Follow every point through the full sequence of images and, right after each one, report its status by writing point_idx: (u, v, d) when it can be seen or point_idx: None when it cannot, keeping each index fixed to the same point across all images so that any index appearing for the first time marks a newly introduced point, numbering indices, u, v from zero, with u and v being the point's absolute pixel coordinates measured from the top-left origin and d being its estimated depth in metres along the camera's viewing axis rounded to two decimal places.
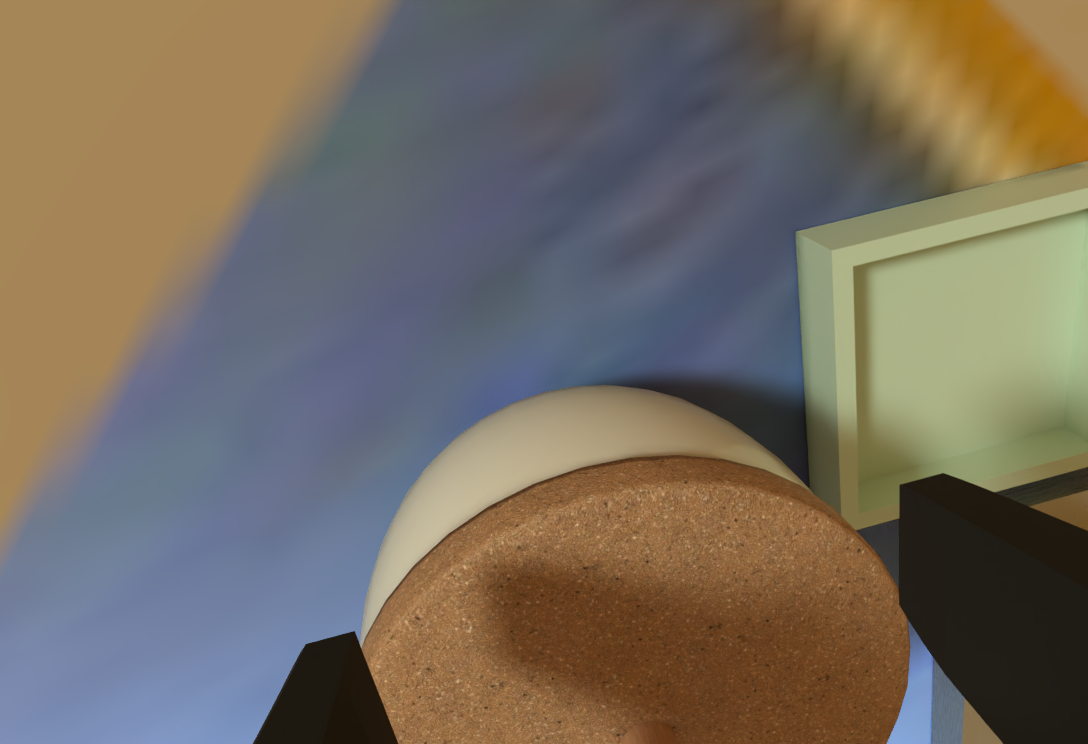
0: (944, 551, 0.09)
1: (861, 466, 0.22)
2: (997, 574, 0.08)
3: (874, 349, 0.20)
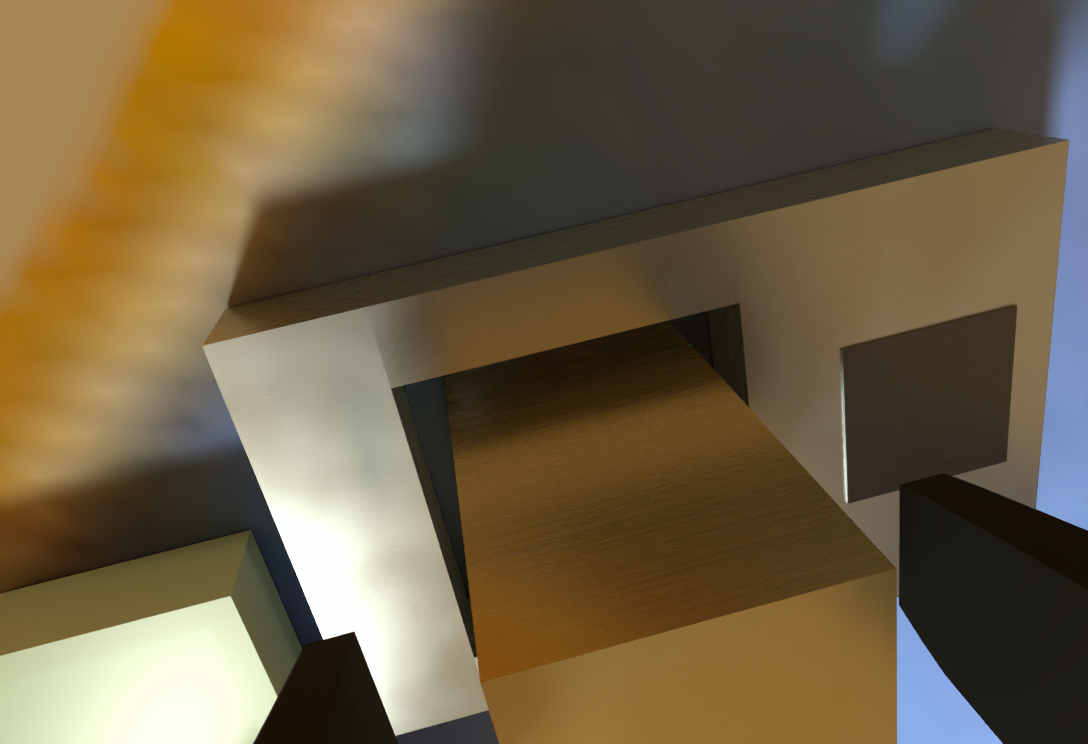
0: (944, 551, 0.09)
1: None
2: (997, 574, 0.08)
3: None
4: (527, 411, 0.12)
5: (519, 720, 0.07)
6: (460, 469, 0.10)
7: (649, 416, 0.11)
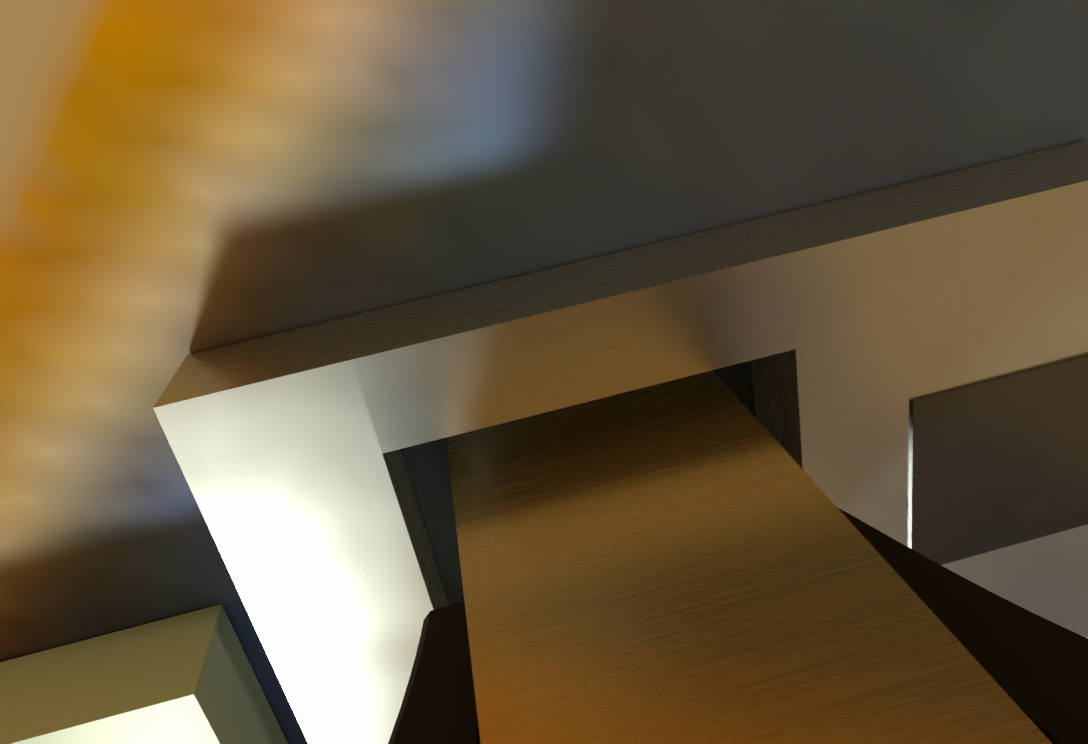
0: None
1: None
2: None
3: None
4: (546, 482, 0.10)
5: None
6: (466, 562, 0.09)
7: (694, 493, 0.09)
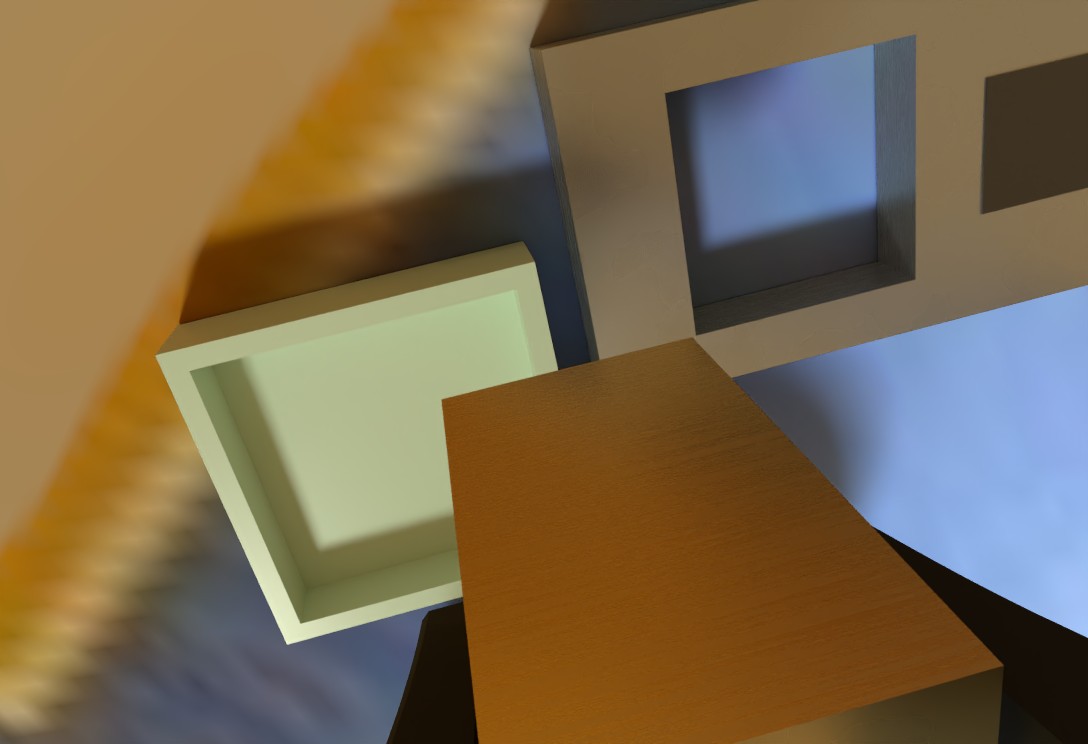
0: None
1: None
2: None
3: (406, 521, 0.20)
4: (537, 446, 0.10)
5: None
6: (460, 517, 0.09)
7: (678, 454, 0.09)
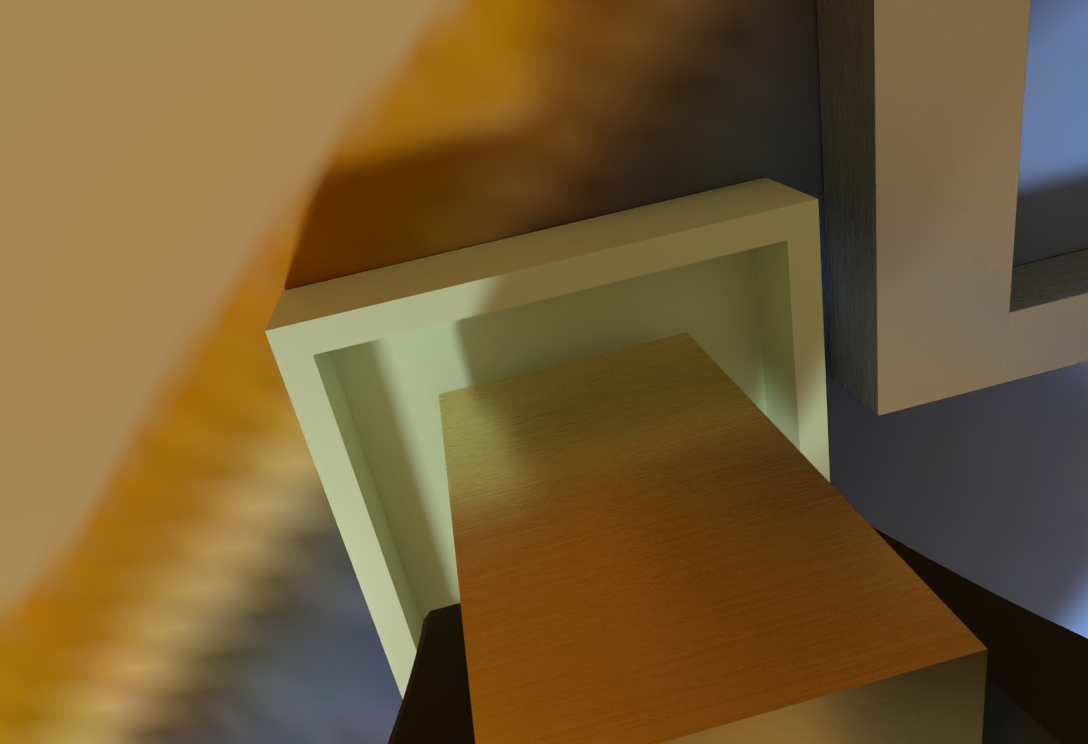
0: None
1: None
2: None
3: None
4: (533, 439, 0.10)
5: None
6: (456, 508, 0.09)
7: (672, 446, 0.09)
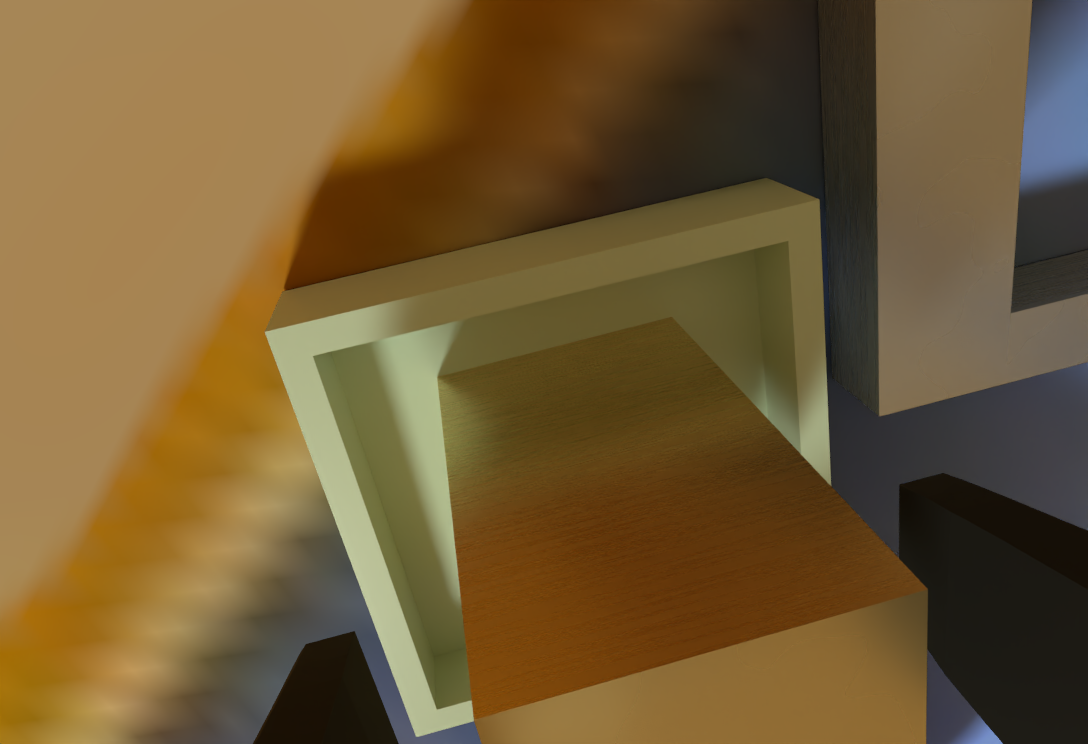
0: (944, 551, 0.09)
1: None
2: (997, 574, 0.08)
3: None
4: (525, 416, 0.11)
5: None
6: (453, 479, 0.10)
7: (654, 420, 0.10)
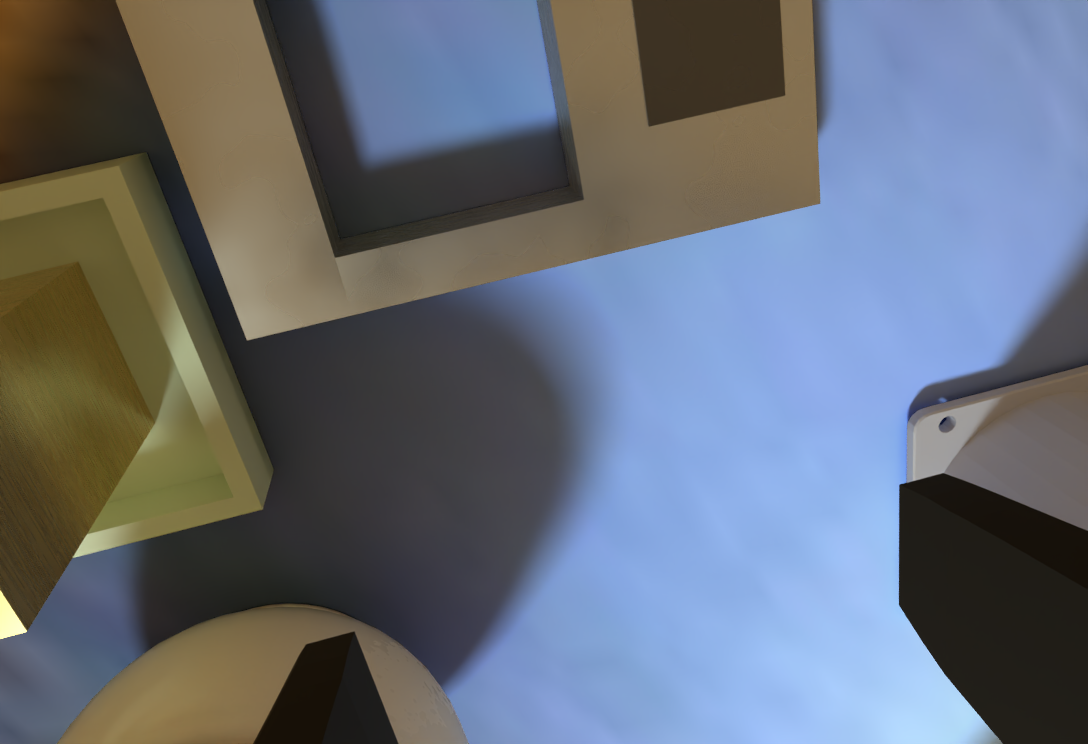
0: (944, 551, 0.09)
1: (211, 445, 0.19)
2: (997, 574, 0.08)
3: None
4: None
5: None
6: None
7: None
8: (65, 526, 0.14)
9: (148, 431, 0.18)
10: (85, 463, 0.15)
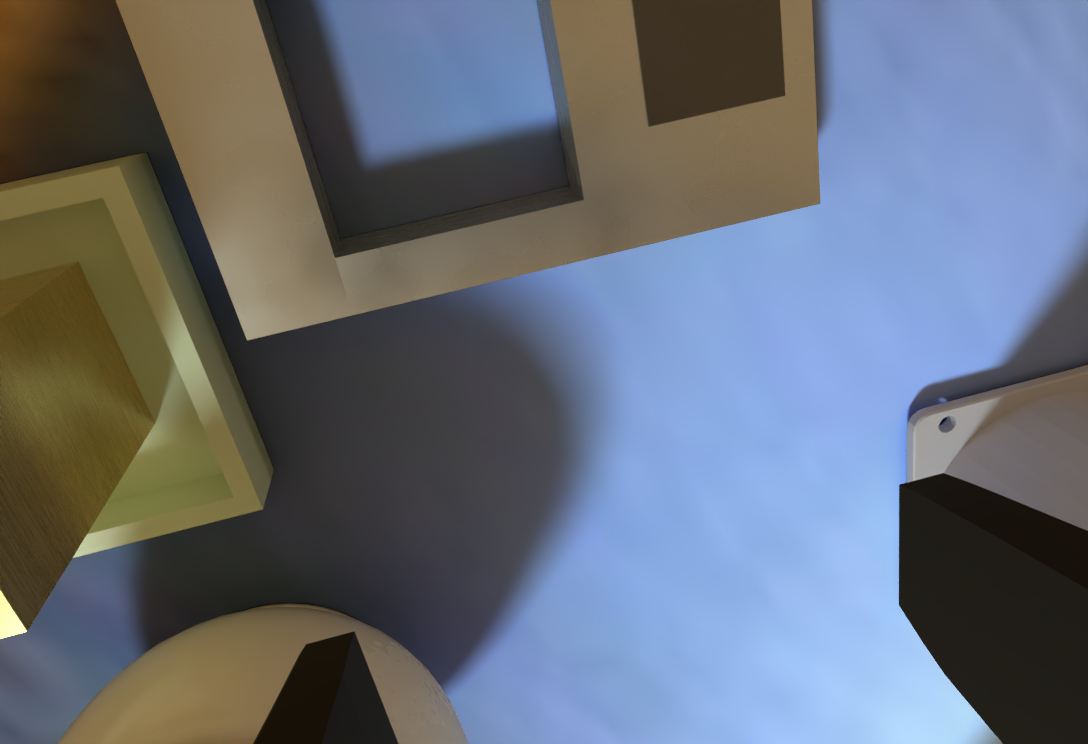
0: (944, 551, 0.09)
1: (211, 445, 0.19)
2: (997, 574, 0.08)
3: None
4: None
5: None
6: None
7: None
8: (65, 526, 0.14)
9: (148, 431, 0.18)
10: (85, 463, 0.15)
